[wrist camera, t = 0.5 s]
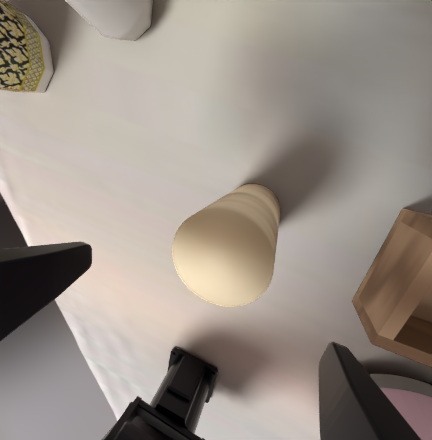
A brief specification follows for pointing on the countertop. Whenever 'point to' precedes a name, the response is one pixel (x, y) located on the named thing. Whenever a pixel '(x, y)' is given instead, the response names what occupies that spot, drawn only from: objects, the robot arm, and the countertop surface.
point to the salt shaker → (116, 16)
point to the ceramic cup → (23, 53)
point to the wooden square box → (401, 290)
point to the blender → (409, 401)
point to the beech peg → (229, 247)
